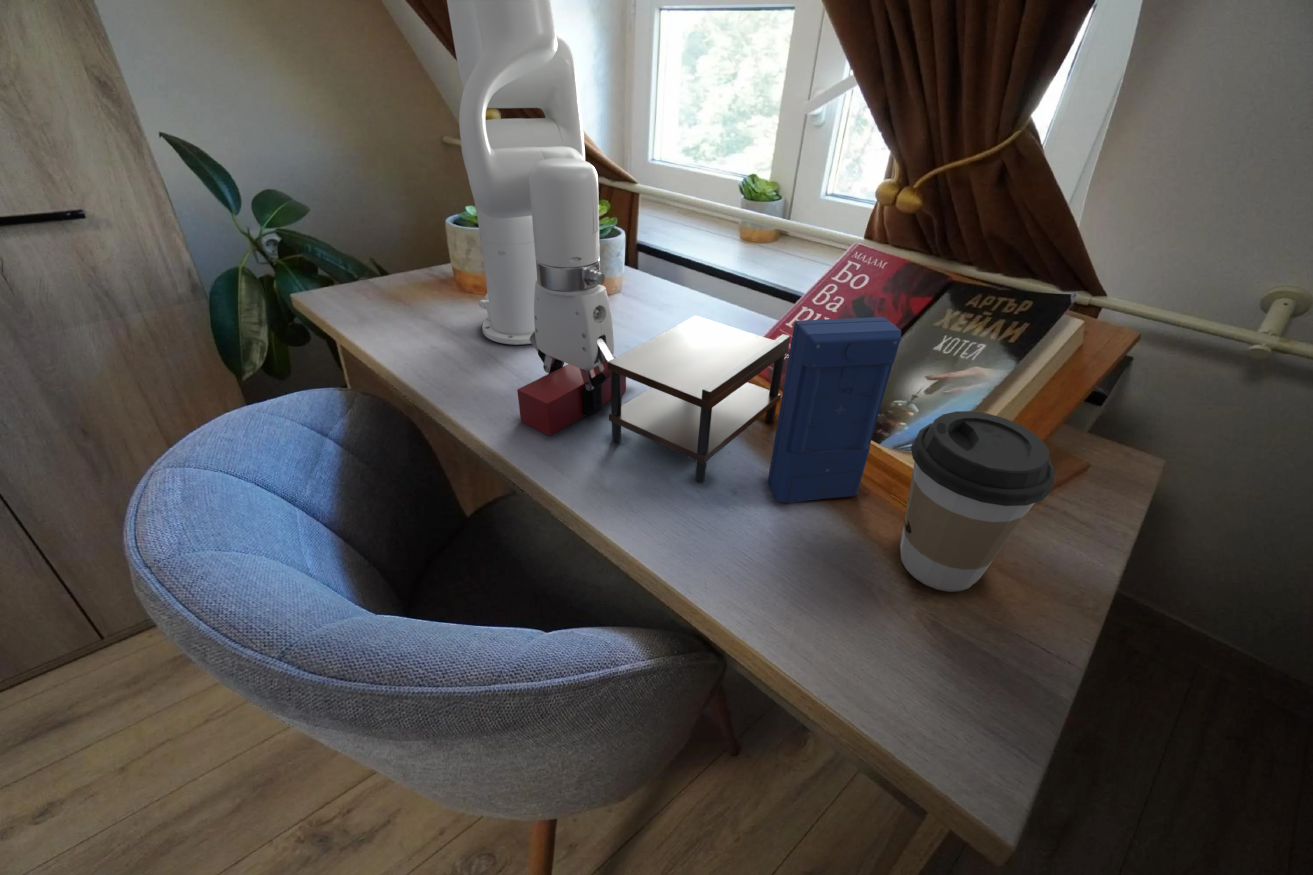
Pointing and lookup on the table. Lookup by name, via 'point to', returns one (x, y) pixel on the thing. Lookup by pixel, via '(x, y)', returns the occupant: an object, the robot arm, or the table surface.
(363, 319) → the table surface
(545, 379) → the red rectangular block
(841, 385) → the electronic device
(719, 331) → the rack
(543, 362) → the robot arm
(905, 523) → the coffee cup
